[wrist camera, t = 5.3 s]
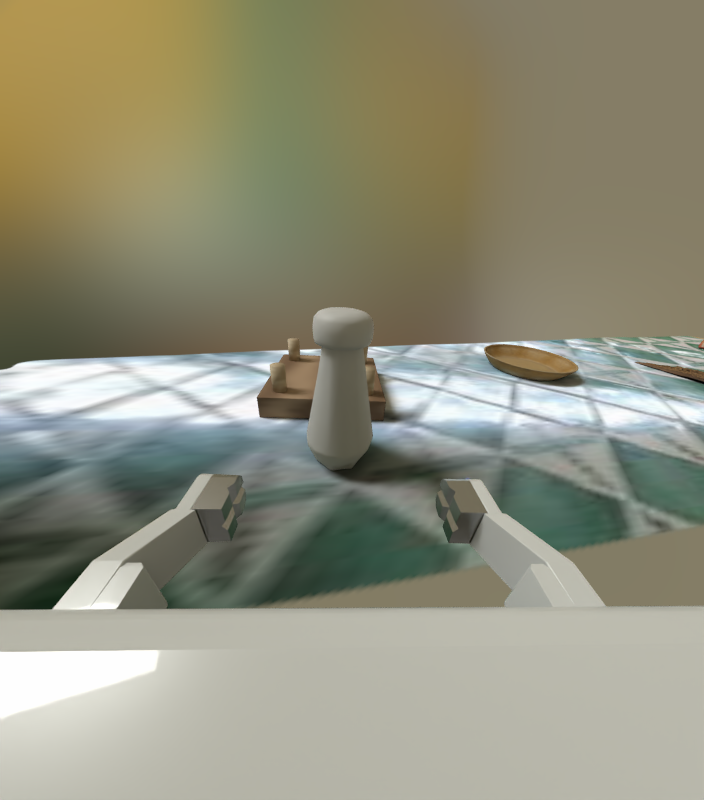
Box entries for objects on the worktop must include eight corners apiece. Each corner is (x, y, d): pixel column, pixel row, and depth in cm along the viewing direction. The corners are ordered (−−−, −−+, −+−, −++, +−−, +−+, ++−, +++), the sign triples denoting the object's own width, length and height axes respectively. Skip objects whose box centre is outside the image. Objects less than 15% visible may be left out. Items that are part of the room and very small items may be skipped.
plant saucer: (577, 372, 47) (584, 359, 46) (562, 395, 38) (570, 380, 37) (496, 351, 56) (500, 340, 55) (467, 366, 47) (471, 352, 46)
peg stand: (259, 416, 28) (253, 371, 26) (285, 369, 41) (282, 335, 38) (383, 420, 29) (389, 376, 26) (371, 372, 41) (374, 339, 39)
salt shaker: (355, 431, 27) (364, 302, 21) (380, 468, 22) (403, 317, 16) (300, 443, 25) (292, 303, 18) (317, 485, 20) (313, 320, 14)
